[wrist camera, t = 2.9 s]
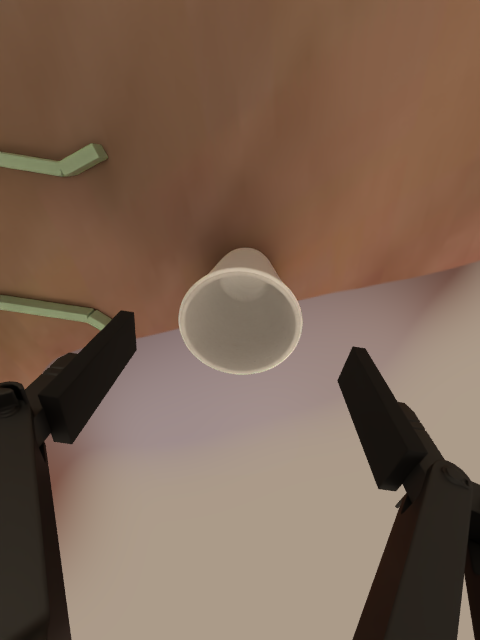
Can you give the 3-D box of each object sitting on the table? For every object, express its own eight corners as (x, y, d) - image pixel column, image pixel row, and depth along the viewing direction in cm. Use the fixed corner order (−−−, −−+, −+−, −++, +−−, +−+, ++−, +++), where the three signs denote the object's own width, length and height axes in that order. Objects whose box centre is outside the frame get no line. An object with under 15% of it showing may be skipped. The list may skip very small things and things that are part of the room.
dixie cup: (189, 288, 27) (158, 344, 18) (229, 214, 23) (214, 241, 15) (257, 325, 29) (258, 392, 20) (304, 263, 25) (330, 312, 16)
